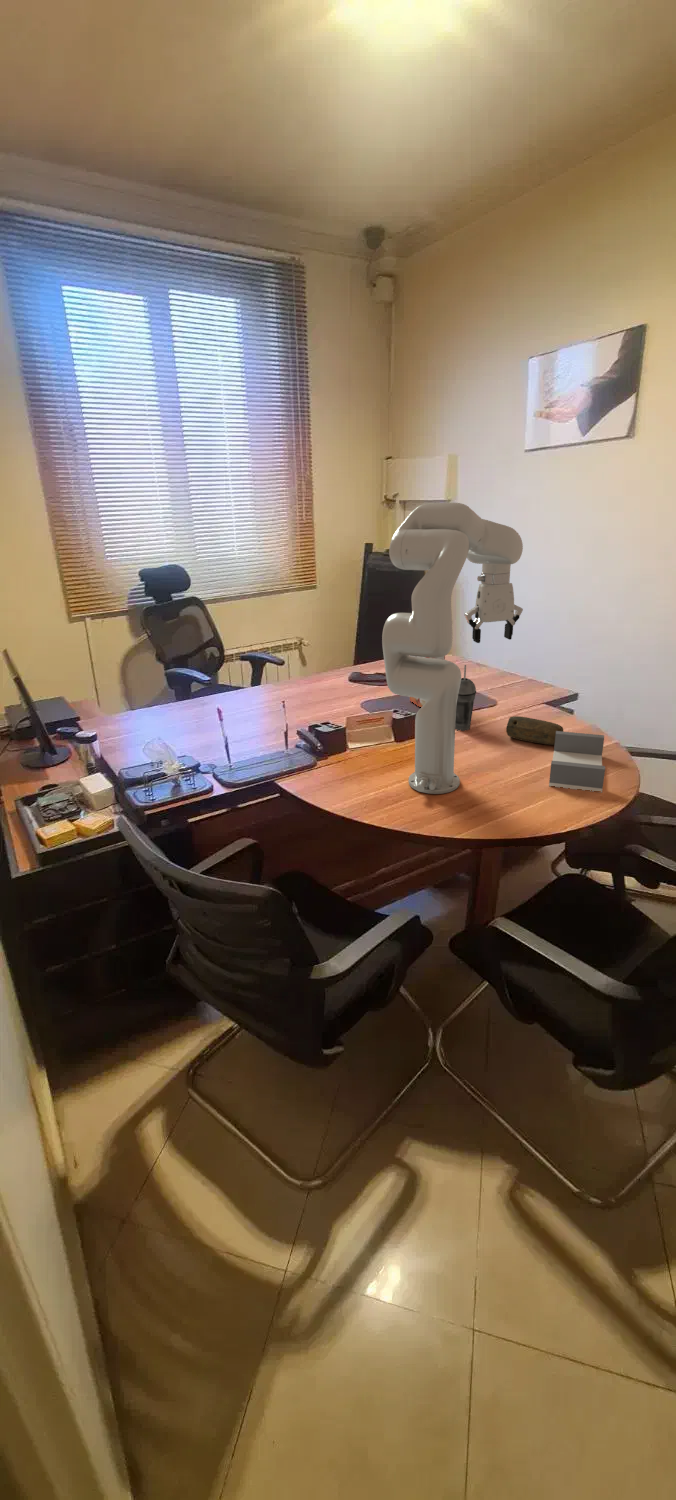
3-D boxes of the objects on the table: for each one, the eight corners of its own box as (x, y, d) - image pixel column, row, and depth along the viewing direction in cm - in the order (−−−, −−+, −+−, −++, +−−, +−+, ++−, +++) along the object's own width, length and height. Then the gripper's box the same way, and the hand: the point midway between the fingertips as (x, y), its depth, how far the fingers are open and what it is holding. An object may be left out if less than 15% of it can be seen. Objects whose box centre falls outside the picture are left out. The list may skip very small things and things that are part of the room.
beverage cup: (473, 723, 193) (476, 660, 185) (475, 732, 186) (479, 667, 178) (449, 723, 193) (451, 660, 185) (451, 732, 187) (453, 667, 179)
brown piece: (503, 741, 179) (505, 719, 176) (510, 733, 185) (511, 712, 182) (558, 749, 172) (560, 727, 170) (563, 740, 178) (565, 718, 175)
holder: (602, 792, 148) (605, 769, 146) (548, 786, 152) (551, 763, 150) (601, 756, 167) (604, 735, 165) (554, 751, 171) (556, 730, 169)
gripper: (472, 583, 167) (469, 646, 174) (531, 578, 171) (526, 640, 177) (460, 579, 174) (458, 640, 181) (517, 574, 177) (513, 634, 184)
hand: (492, 640), depth 179 cm, fingers open, 9 cm apart
